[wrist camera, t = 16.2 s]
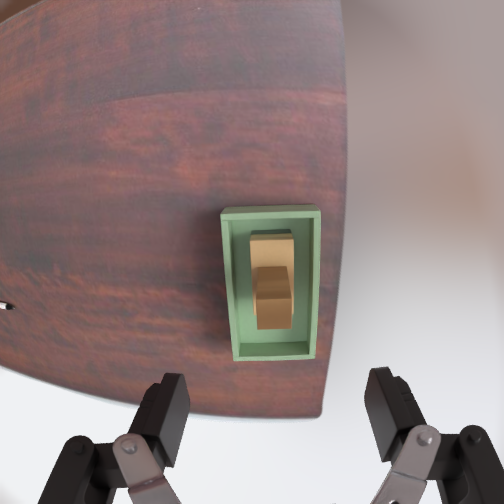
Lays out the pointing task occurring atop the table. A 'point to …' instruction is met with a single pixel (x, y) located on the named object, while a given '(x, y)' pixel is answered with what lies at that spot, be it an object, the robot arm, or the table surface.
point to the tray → (240, 281)
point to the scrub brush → (272, 278)
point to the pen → (5, 306)
